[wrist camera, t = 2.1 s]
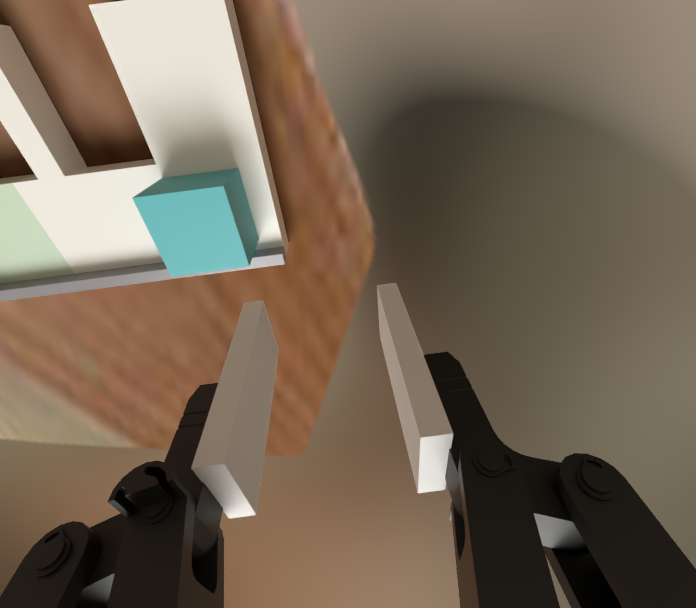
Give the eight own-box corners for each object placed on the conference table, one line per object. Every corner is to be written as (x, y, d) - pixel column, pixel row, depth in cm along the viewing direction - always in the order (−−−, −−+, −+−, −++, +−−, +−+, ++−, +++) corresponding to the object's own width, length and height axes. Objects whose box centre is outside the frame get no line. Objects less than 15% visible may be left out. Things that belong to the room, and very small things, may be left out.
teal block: (161, 177, 25) (132, 197, 21) (238, 168, 25) (223, 186, 21) (191, 248, 29) (171, 276, 25) (258, 239, 29) (249, 266, 25)
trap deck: (-183, 51, 22) (-298, 45, 18) (231, -3, 22) (212, -21, 18) (9, 279, 32) (-36, 308, 28) (288, 242, 32) (284, 266, 28)
